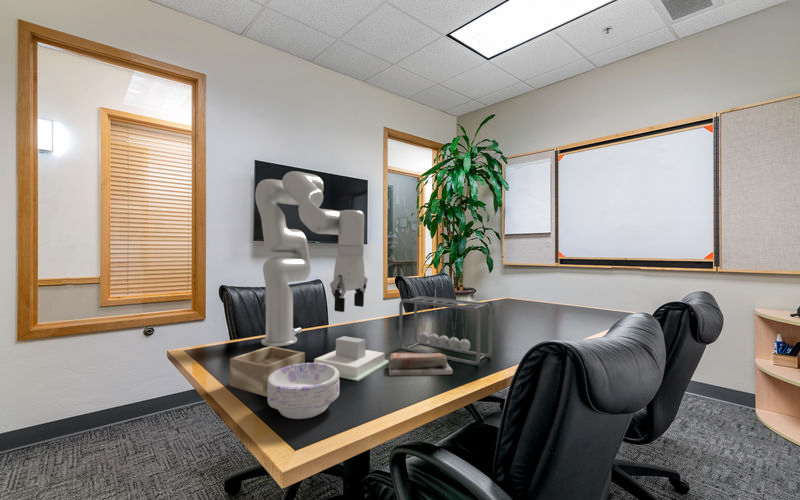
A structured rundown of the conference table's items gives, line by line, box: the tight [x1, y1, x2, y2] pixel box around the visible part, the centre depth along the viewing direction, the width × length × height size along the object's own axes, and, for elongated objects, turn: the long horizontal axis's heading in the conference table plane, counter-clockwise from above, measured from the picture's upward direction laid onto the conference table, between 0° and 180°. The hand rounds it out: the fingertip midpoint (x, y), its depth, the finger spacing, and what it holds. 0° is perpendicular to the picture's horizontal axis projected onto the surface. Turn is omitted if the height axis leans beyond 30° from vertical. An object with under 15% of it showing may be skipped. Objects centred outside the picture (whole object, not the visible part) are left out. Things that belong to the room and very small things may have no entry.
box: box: [229, 346, 306, 397], centre depth 93 cm, size 13×13×7 cm
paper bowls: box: [266, 362, 341, 420], centre depth 78 cm, size 15×15×8 cm
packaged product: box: [387, 352, 454, 376], centre depth 104 cm, size 18×5×10 cm
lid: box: [313, 335, 386, 377], centre depth 106 cm, size 15×15×8 cm
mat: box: [339, 359, 388, 382], centre depth 106 cm, size 18×18×1 cm
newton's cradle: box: [398, 295, 493, 366], centre depth 119 cm, size 30×10×18 cm, turn 54°
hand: (349, 308), depth 106 cm, fingers open, 9 cm apart
